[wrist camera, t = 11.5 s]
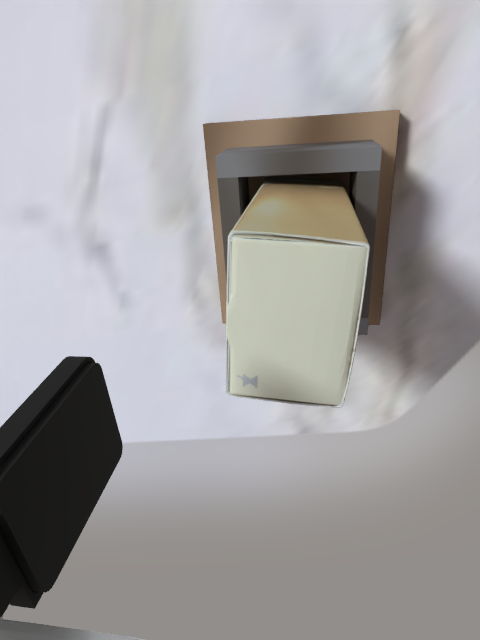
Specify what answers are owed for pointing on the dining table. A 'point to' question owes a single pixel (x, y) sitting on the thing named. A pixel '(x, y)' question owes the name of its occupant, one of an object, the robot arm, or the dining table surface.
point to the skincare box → (294, 293)
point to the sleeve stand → (307, 162)
